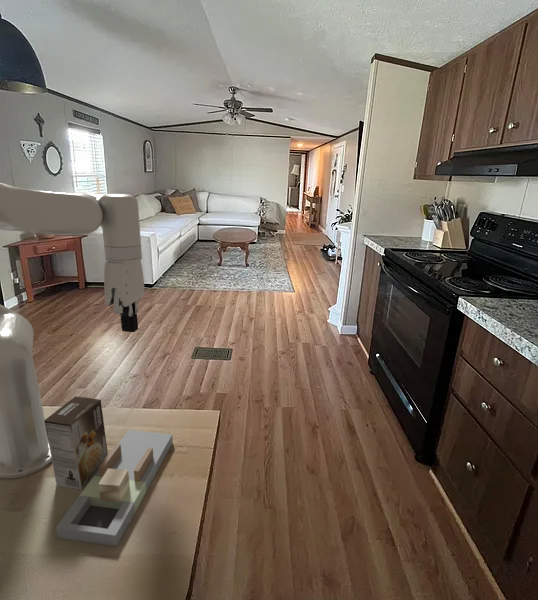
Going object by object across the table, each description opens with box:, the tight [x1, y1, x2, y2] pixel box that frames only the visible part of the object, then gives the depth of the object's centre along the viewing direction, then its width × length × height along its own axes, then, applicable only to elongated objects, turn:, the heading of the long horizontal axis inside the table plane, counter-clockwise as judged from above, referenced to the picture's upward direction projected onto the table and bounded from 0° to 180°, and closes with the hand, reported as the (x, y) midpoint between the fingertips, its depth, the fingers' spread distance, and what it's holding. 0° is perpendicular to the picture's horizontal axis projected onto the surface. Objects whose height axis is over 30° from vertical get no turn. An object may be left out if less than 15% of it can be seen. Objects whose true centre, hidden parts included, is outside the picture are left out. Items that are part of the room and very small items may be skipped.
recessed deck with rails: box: [55, 429, 174, 547], centre depth 78 cm, size 11×27×5 cm, turn 173°
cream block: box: [98, 468, 130, 502], centre depth 72 cm, size 4×4×4 cm
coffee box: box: [44, 396, 109, 491], centre depth 78 cm, size 9×6×16 cm
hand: (130, 330), depth 87 cm, fingers closed
